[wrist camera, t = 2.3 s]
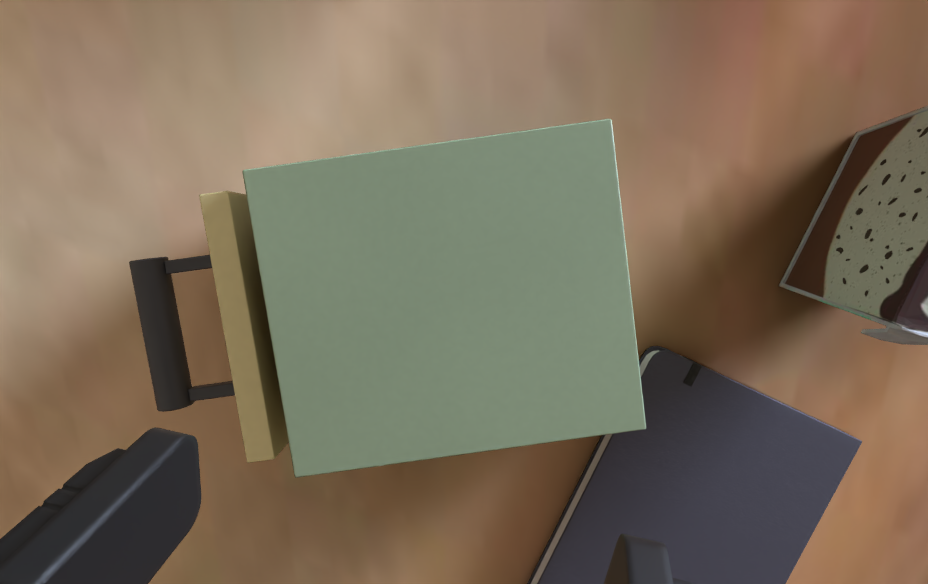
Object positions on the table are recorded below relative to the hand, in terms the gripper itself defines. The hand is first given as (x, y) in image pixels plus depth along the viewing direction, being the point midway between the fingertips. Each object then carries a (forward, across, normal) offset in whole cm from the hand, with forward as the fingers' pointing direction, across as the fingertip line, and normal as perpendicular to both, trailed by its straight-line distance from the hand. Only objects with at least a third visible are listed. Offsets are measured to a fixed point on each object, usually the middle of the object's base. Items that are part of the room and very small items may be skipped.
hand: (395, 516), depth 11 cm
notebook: (+20, -12, +18) cm, 30 cm away
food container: (+27, -19, -1) cm, 34 cm away
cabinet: (+22, +3, +5) cm, 23 cm away
